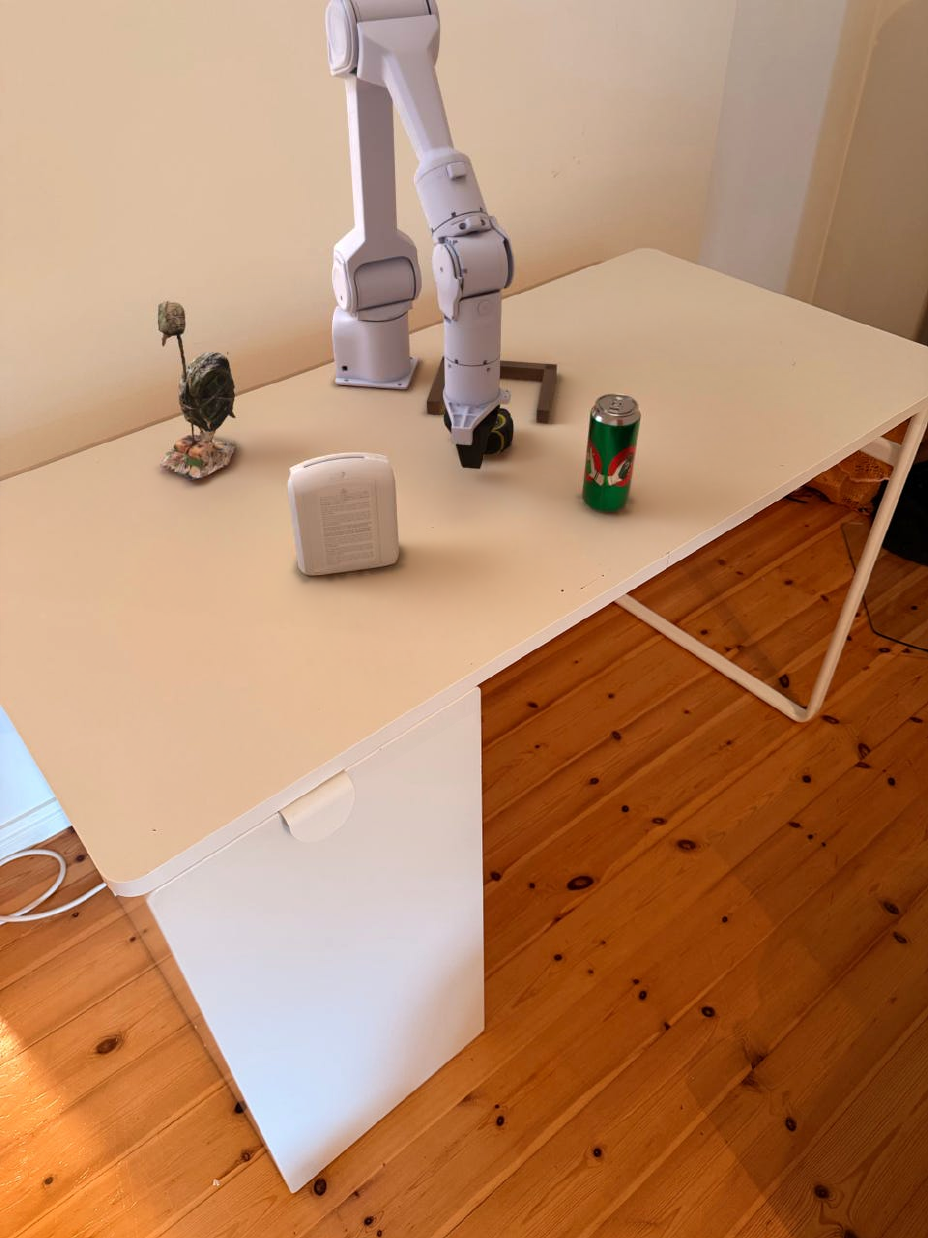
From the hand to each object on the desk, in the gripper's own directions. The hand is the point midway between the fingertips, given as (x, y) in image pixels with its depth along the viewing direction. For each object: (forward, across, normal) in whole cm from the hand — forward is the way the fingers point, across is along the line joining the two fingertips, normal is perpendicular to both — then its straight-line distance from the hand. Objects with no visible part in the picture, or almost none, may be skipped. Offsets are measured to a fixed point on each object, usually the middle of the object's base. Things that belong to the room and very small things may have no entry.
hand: (472, 465), depth 104 cm
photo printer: (+2, -17, +10) cm, 19 cm away
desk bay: (+2, +17, 0) cm, 17 cm away
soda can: (+2, -3, -15) cm, 15 cm away
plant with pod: (+2, -1, +31) cm, 31 cm away
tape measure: (+2, +7, 0) cm, 7 cm away
